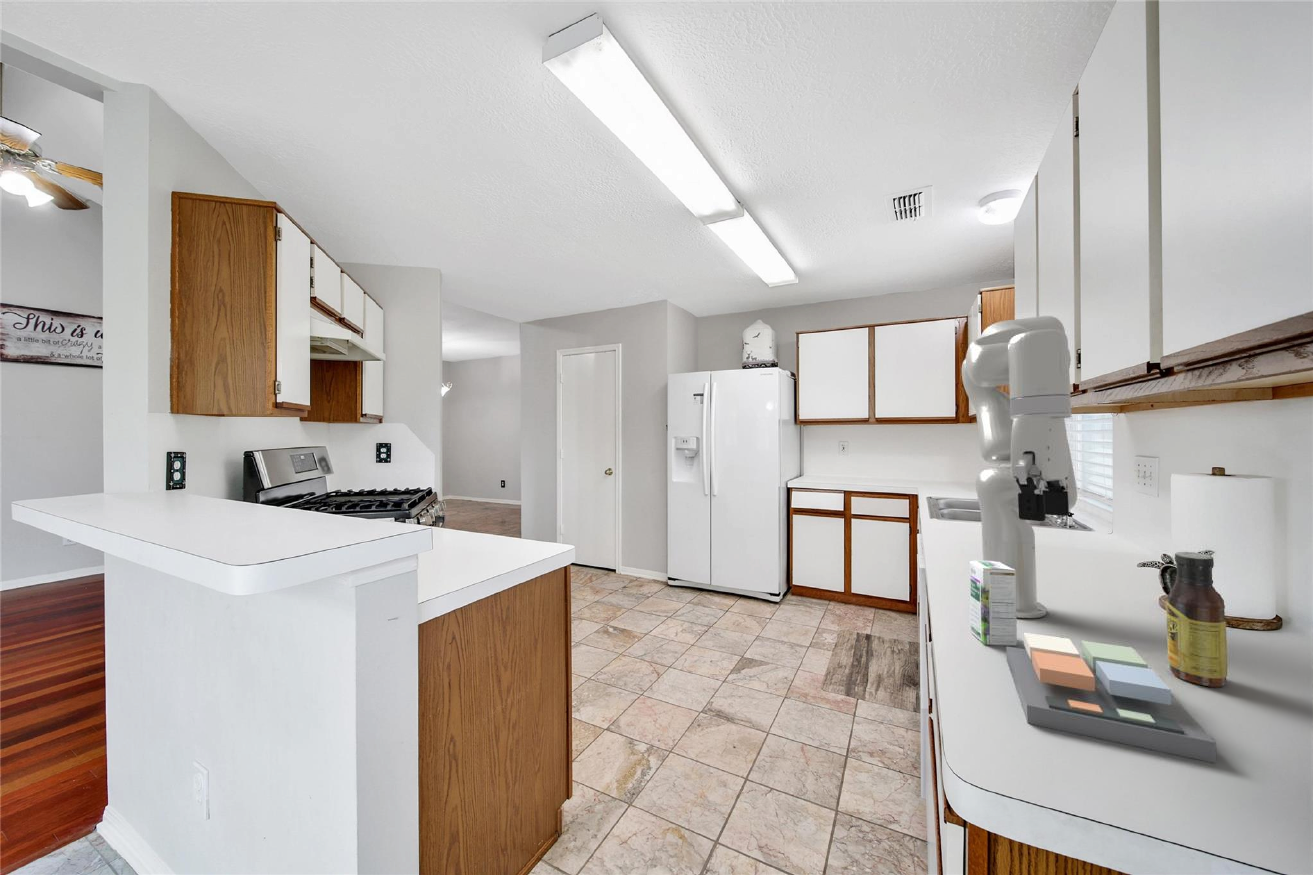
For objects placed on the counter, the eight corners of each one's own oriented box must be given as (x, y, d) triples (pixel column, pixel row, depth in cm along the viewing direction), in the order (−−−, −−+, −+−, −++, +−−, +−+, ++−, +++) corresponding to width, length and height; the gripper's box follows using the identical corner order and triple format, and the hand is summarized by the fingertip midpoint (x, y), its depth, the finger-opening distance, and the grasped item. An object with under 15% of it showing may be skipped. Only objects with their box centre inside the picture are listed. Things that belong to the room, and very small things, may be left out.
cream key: (1023, 644, 81) (1023, 632, 81) (1069, 651, 78) (1069, 638, 78) (1030, 659, 75) (1030, 646, 75) (1080, 667, 72) (1079, 654, 72)
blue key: (1096, 674, 70) (1095, 660, 70) (1152, 683, 67) (1151, 669, 67) (1109, 694, 65) (1109, 679, 65) (1171, 704, 62) (1170, 689, 62)
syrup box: (969, 632, 95) (967, 560, 95) (1002, 633, 94) (1000, 560, 94) (984, 645, 89) (981, 568, 89) (1019, 646, 88) (1016, 568, 88)
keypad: (1006, 660, 83) (1006, 642, 83) (1148, 683, 74) (1148, 664, 74) (1027, 722, 66) (1026, 700, 66) (1216, 763, 57) (1215, 737, 57)
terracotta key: (1032, 663, 74) (1031, 650, 74) (1082, 671, 71) (1082, 658, 71) (1040, 681, 69) (1039, 667, 69) (1095, 691, 66) (1094, 677, 66)
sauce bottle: (1171, 665, 80) (1167, 546, 80) (1229, 679, 75) (1226, 553, 75) (1164, 678, 76) (1161, 554, 76) (1226, 694, 71) (1222, 561, 71)
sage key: (1081, 652, 77) (1081, 640, 77) (1132, 660, 74) (1132, 647, 74) (1093, 669, 72) (1092, 656, 72) (1148, 678, 69) (1147, 664, 69)
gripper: (1032, 413, 84) (1037, 511, 83) (988, 409, 74) (993, 519, 74) (1088, 409, 77) (1093, 515, 77) (1048, 404, 68) (1053, 525, 67)
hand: (1044, 517), depth 75 cm, fingers open, 9 cm apart
